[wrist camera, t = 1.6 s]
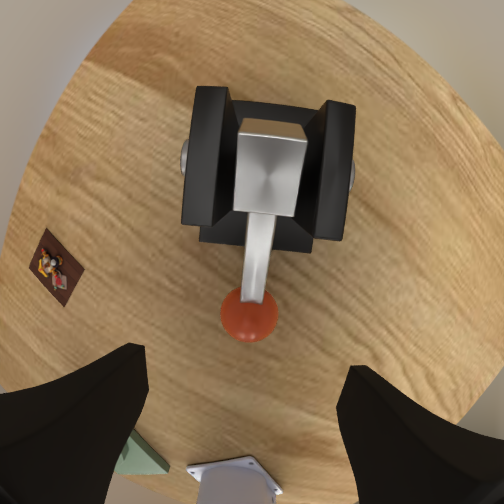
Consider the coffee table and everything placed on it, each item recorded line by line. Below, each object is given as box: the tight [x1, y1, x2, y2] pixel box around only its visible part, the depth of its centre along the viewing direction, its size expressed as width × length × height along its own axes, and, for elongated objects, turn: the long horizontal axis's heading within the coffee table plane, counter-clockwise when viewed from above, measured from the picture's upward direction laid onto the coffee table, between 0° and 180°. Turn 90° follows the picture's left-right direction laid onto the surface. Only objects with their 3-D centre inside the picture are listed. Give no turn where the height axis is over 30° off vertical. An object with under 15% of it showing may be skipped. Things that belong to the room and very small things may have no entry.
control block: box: [114, 429, 170, 474], centre depth 22 cm, size 10×8×3 cm
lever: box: [220, 118, 309, 342], centre depth 12 cm, size 11×3×3 cm, turn 174°
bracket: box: [180, 86, 356, 253], centre depth 13 cm, size 9×7×10 cm
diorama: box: [29, 228, 85, 307], centre depth 18 cm, size 3×4×2 cm
